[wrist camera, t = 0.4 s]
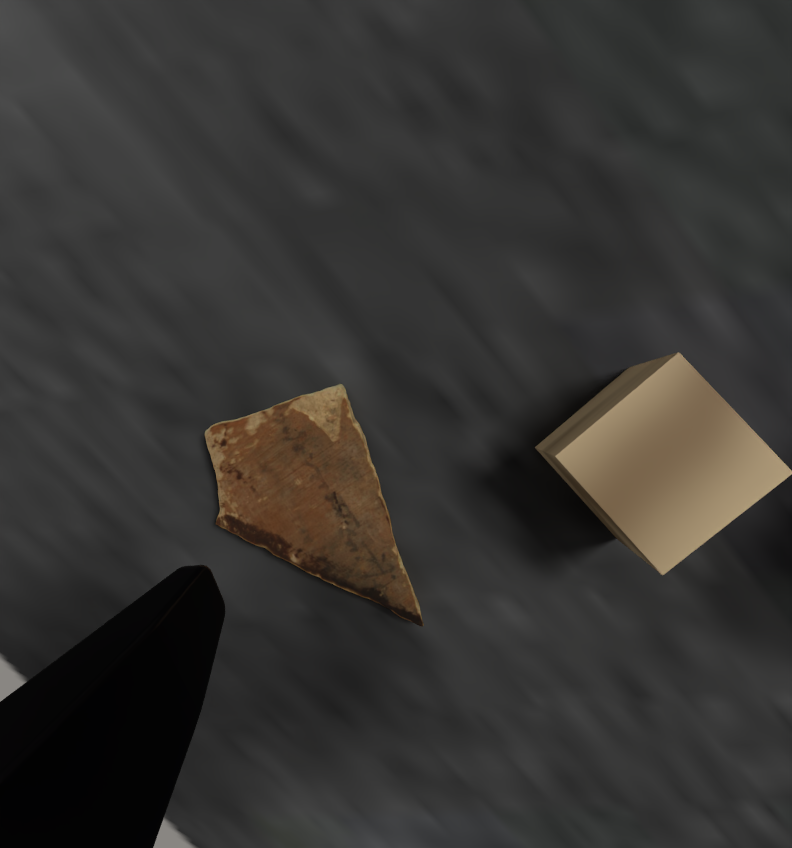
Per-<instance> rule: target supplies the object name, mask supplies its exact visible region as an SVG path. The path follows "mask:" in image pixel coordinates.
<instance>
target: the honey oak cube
mask: <svg viewBox="0 0 792 848" xmlns="http://www.w3.org/2000/svg"><path fill="white" fill-rule="evenodd" d="M535 448H536V449H537V451H538V452H539V453H540V454H541V455H542V456H543V457H544V458H545V459H546V461H547V462H548V463H549V464H550V465H551V466H552V467H553V468H554V469H555V471H556V472H557V473H558V474H559V475H560V476H561V477H562V478H563V479H564V481H565V482H566V483H567V484H568V485H569V486H570V487H571V488H572V489H573V491H574V492H575V493H576V494H577V495H578V496H579V497H580V498H581V499H582V501H583V502H584V503H585V504H586V505H587V506H588V507H589V508H590V509H591V511H592V512H593V513H594V514H595V515H596V516H597V517H598V518H599V519H600V521H601V522H602V523H603V524H604V525H605V526H606V527H607V528H608V529H609V531H610V532H611V533H612V534H613V535H614V536H615V537H616V538H617V539H618V540H619V541H620V542H622V543H623V544H624V545H625V546H627V547H628V548H629V549H630V550H632V551H633V552H634V553H635V554H637V555H638V556H639V557H640V558H642V559H643V560H644V561H645V562H647V563H648V564H649V565H650V566H652V567H653V568H654V569H655V570H657V571H658V572H659V573H660V574H662V575H664V574H665V573H666V572H668V571H669V570H670V569H672V568H673V567H674V566H675V565H677V564H678V563H679V562H680V561H682V560H683V559H684V558H686V557H687V556H688V555H689V554H691V553H692V552H693V551H694V550H696V549H697V548H698V547H700V546H701V545H702V544H703V543H705V542H706V541H707V540H709V539H710V538H711V537H712V536H714V535H715V534H716V533H717V532H719V531H720V530H721V529H723V528H724V527H725V526H726V525H728V524H729V523H730V522H731V521H733V520H734V519H735V518H737V517H738V516H739V515H740V514H742V513H743V512H744V511H746V510H747V509H748V508H749V507H751V506H752V505H753V504H754V503H756V502H757V501H758V500H760V499H761V498H762V497H763V496H765V495H766V494H767V493H769V492H770V491H771V490H772V489H774V488H775V487H776V486H777V485H779V484H780V483H781V482H783V481H784V480H785V479H786V478H788V477H789V476H790V475H791V474H792V471H791V470H790V469H789V468H788V467H787V465H786V464H785V463H784V462H783V461H782V460H781V459H780V458H779V457H778V456H777V455H776V454H775V453H774V452H773V451H772V450H771V449H770V448H769V447H768V445H767V444H766V443H765V442H764V441H763V440H762V439H761V438H760V437H759V436H758V435H757V434H756V433H755V432H754V431H753V430H752V429H751V428H750V427H749V426H748V424H747V423H746V422H745V421H744V420H743V419H742V418H741V417H740V416H739V415H738V414H737V413H736V412H735V411H734V410H733V409H732V408H731V407H730V406H729V404H728V403H727V402H726V401H725V400H724V399H723V398H722V397H721V396H720V395H719V394H718V393H717V392H716V391H715V390H714V389H713V388H712V387H711V386H710V384H709V383H708V382H707V381H706V380H705V379H704V378H703V377H702V376H701V375H700V374H699V373H698V372H697V371H696V370H695V369H694V368H693V367H692V366H691V364H690V363H689V362H688V361H687V360H686V359H685V358H684V357H683V356H682V355H681V354H680V353H679V352H678V353H675V354H671V355H668V356H665V357H662V358H658V359H655V360H652V361H649V362H645V363H642V364H639V365H636V366H632V367H629V368H628V369H627V370H625V371H624V372H623V373H622V374H621V375H619V376H618V377H617V378H616V379H615V380H614V381H612V382H611V383H610V384H609V385H608V386H607V387H605V388H604V389H603V390H602V391H601V392H599V393H598V394H597V395H596V396H595V397H594V398H592V399H591V400H590V401H589V402H588V403H587V404H585V405H584V406H583V407H582V408H581V409H579V410H578V411H577V412H576V413H575V414H574V415H572V416H571V417H570V418H569V419H568V420H566V421H565V422H564V423H563V424H562V425H561V426H559V427H558V428H557V429H556V430H555V431H554V432H552V433H551V434H550V435H549V436H548V437H546V438H545V439H544V440H543V441H542V442H541V443H539V444H538V445H537V446H536V447H535Z"/></svg>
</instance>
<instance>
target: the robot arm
mask: <svg viewBox="0 0 792 848" xmlns="http://www.w3.org/2000/svg"><path fill="white" fill-rule="evenodd" d="M224 617H225V604H224V600H223V598H222V595H221V593H220V591H219V588H218V586H217V583H216V581H215V579H214V576H213V574H212V572H211V570H210V569H209V568H208V567H207V566H204V565H196V566H184V567H181V568H179V569H177V570H176V571H175V572H173V573H172V574H170V575H169V576H168V577H166V578H165V579H164V580H162V581H161V582H160V583H158V584H157V585H156V586H154V587H153V588H152V589H150V590H149V591H148V592H146V593H145V594H144V595H142V596H141V597H140V598H138V599H137V600H136V601H134V602H133V603H132V604H130V605H129V606H128V607H126V608H125V609H124V610H122V611H121V612H120V613H118V614H117V615H116V616H114V617H113V618H112V619H110V620H109V621H108V622H106V623H105V624H104V625H102V626H101V627H100V628H98V629H97V630H96V631H94V632H93V633H92V634H90V635H89V636H88V637H86V638H85V639H84V640H82V641H81V642H80V643H78V644H77V645H76V646H74V647H73V648H72V649H70V650H69V651H68V652H66V653H65V654H64V655H62V656H61V657H60V658H58V659H57V660H56V661H54V662H53V663H52V664H50V665H49V666H48V667H46V668H45V669H44V670H42V671H41V672H40V673H38V674H37V675H36V676H34V677H33V678H32V679H30V680H29V681H28V682H26V683H25V684H23V685H22V686H21V687H20V688H18V689H17V690H16V691H14V692H13V693H11V694H10V695H9V696H7V697H6V698H5V699H3V700H2V701H1V702H0V848H153V846H154V843H155V841H156V838H157V835H158V832H159V829H160V826H161V823H162V821H163V818H164V815H165V812H166V809H167V807H168V804H169V801H170V798H171V795H172V793H173V790H174V787H175V784H176V781H177V778H178V776H179V773H180V770H181V767H182V764H183V761H184V759H185V756H186V753H187V750H188V747H189V745H190V742H191V739H192V736H193V733H194V730H195V727H196V724H197V721H198V718H199V715H200V712H201V709H202V705H203V701H204V698H205V694H206V690H207V686H208V682H209V678H210V674H211V670H212V666H213V662H214V658H215V654H216V650H217V646H218V642H219V638H220V633H221V629H222V625H223V621H224Z"/></svg>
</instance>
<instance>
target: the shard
mask: <svg viewBox="0 0 792 848" xmlns="http://www.w3.org/2000/svg"><path fill="white" fill-rule="evenodd" d="M205 438H206V443H207V447H208V450H209V453H210V455H211V460H212V462H213V467H214V470H215V472H216V479H217V483H218V496H219V506H220V512H219V515H218V517H217V520H216V525H218V526H220V527H221V528H224V529H227V530H228V531H229V532H231V533H233V534H237V535H239V536H240V537H241V538H243V539H244V540H246V541H248V542H250V543H252V544H254V545H256V546H260V547H264V548H266V549H267V550H269V551H270V552H271V553H272V554H273V555H275V556H277V557H279V558H282V559H284V560H286V561H288V562H290V563H292V564H294V565H295V566H297V567H299V568H301V569H302V570H304V571H306V572H308V573H310V574H312V575H314V576H317V577H320V578H321V579H322V580H324V581H326V582H329V583H331V584H333V585H335V586H337V587H339V588H342V589H344V590H346V591H349V592H352V593H354V594H356V595H359V596H361V597H364V598H368V599H370V600H372V601H374V602H377V603H379V604H381V605H382V606H384V607H386V608H388V609H390V610H392V611H393V612H394V613H395V614H397V615H398V616H399V617H400V618H404V619H406V620H409V621H411V622H413V623H415V624H417V625H419V626H422V627H423V625H424V624H423V621H422V617H421V612H420V605H419V602H418V600H417V598H416V596H415V594H414V590H413V588H412V585H411V583H410V580H409V577H408V575H407V573H406V570H405V568H404V566H403V563H402V560H401V558H400V555H399V552H398V550H397V547H396V544H395V540H394V537H393V534H392V526H391V520H390V516H389V512H388V510H387V507H386V503H385V501H384V499H383V496H382V493H381V489H380V484H379V480H378V476H377V474H376V471H375V468H374V466H373V464H372V462H371V458H370V453H369V450H368V447H367V443H366V438H365V436H364V434H363V432H362V429H361V427H360V424H359V423H358V422H357V421H356V420H355V418H354V415H353V411H352V408H351V407H350V402H349V400H348V397H347V394H346V390H345V388H344V386H343V385H342V384H339V385H337V386H333V387H329V388H326V389H324V390H322V391H318V392H315V393H312V394H306V395H301V396H299V397H296V398H294V399H291V400H288V401H285V402H282V403H280V404H277V405H275V406H273V407H271V408H269V409H266V410H263V411H260V412H257V413H254V414H251V415H249V416H246V417H242V418H239V419H236V420H231V421H223V422H219V423H216V424H214V425H212V426H211V427H210V428H209V429H208V430H206V431H205Z"/></svg>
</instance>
